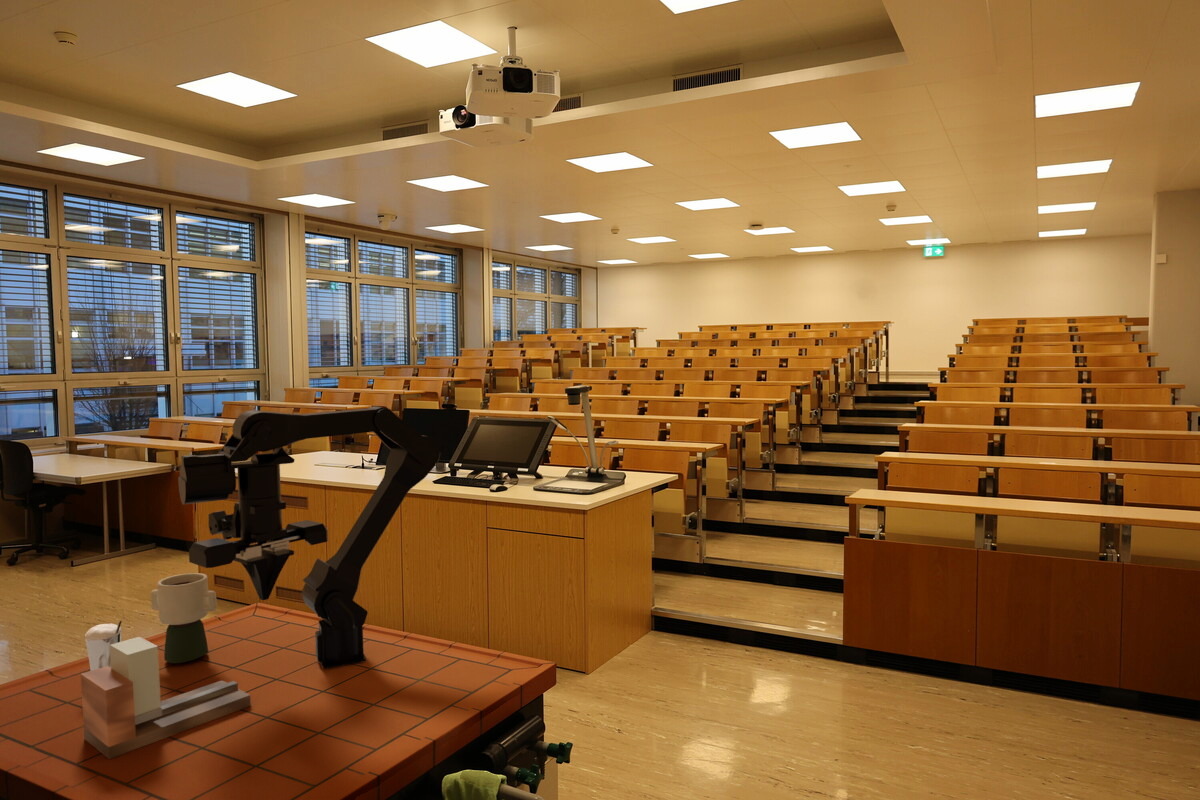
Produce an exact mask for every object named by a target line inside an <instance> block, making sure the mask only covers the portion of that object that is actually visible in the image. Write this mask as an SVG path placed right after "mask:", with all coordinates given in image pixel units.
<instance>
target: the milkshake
mask: <svg viewBox="0 0 1200 800" xmlns="http://www.w3.org/2000/svg"><path fill="white" fill-rule="evenodd" d="M122 622H123V620H119V622H118V624H116V623H102V624H97V625H94V626H92V627H91V628H89V629H88V631H87V632H86V633H84V634H85V635H84V640H85V644H86V650H87V651H86V652H87V655H88V661H89V668H90V669H89V671H92V670H96V669H99V668H102V667H106V666H108V667H110V668H111V657H110V645H111V644H115V643H118V642H122V634H123V633H122V632H123V631H122V627H121V626H122V625H121V624H122Z"/></svg>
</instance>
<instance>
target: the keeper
mask: <svg viewBox="0 0 1200 800" xmlns="http://www.w3.org/2000/svg"><path fill="white" fill-rule="evenodd" d="M158 647H159V646H158V645H156V644H154V643H152V642H151V641H149V640H147V639H145V638H143V637H141V636H136V637H133V638H130V639H125V640H121V642H118V643H115V644H111V645H110V657H111V669H113V670H114V671H116V672H118V673H119V674H121V675H123V676H124V677H126V678H127V679H129V680H131V681H132V682H133V694H134V712H135V725H137V724H139V723H142V722H145V721H148V720H151V719H153V718H156V717H159V716H162V708H161V703H160V701H161V686H160V667H159V666H160V665H159V648H158Z"/></svg>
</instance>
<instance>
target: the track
mask: <svg viewBox="0 0 1200 800" xmlns="http://www.w3.org/2000/svg"><path fill="white" fill-rule="evenodd" d="M80 683H81V685H80V686H81V702H82V717H83V718H82V719H83V720H82V721H83V735H84V736H83V737H84V741H86V742H87V743H88V744H89V745H91V746H93V747H94V749H96V750H97V751H98V752H100V753H101V754H102V755H103V756H105V757H106V758H107V759H109V760H111V759H113V758H117V757H120V756H122V755H124V754H126V753H129V752H133V751H134V750H138V749H140V748H143V747H145V746H148V745H151V744H154V743H155V742H158V741H160V740H163V739H167V738H169V737H171V736H174V735H177V734H180V733H182V732H185V731H186V730H187V731H188V730H190V729H192V728H195V727H198V726H201V725H203V724H205V723H208V722H210V721H214V720H216V719H220V718H222V717H224V716H227V715H229V714H232V713H235V712H238V711H240V710H243V709H245V708H249V707H250V706H251V694H249V693H247V692H246V691H243V690H242V689H239V685H238V684H239V683H238V682H236V681H235V680H232V681H229V682H226V681H224V680H219V681H216V682H213V683H209V684H207V685H204V686H201V687H198V688H195V689H193V690H192V689H191V690H190V691H187V692H184V693H181V694H177V695H175V696H172V697H168V698H167V699H164V700H160V703H161V708H162V716H159V717H156V718H153V719H151V720H148V721H145V722H142V723H139V724H137V725H135V712H134V694H133V682H132V681H131V680H129V679H127V678H126V677H124V676H123V675H121V674H119V673H118V672H116V671H114V670H113V669H111V668H110V667H108V666H106V667H102V668H99V669H96V670H92V671H91V670H89V671H86V672H82V673H80Z"/></svg>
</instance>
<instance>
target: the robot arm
mask: <svg viewBox="0 0 1200 800" xmlns="http://www.w3.org/2000/svg"><path fill="white" fill-rule="evenodd" d="M365 433H366V434H368V433H373V434H375V436H376V437H377V438H378V439H379V440H380V441H381V442H382V444H383V445H385V446H386V447H387V448H388V449H389V450H390V452H389V454H388V456H387V459H386V464H385V469H384V475H383V477H382V480H381V481H380V483H379V484H378V486H377V487H376V489H375V491H374V492H373V494H372V496H371V497H370V499H369V500H368V502H367V503H366V505H365V506H364V508H363V510H362V512H361V513H360V514H359V516H358V517H357V519H356V521H355V523H354V524H353V526H352V528H351V529H350V531H349V532H348V534H347V536H346V537H345V539H344V540H343V541H342V544H341V545H340V546H339V548H338V550H337V552H336V553H335V554H334V555H333V556H332V557H330V558H328V559H327V560H326V561H324V560H322V559H320V558H317V559H316V560H315V562H314V564H313V566H312V567H311V570H310V572H309V574H308V575H306V576H305V577H304V578H303V579H302V582H304V585H303V588H302V591H301V594H302V600H303V602H304V603H305V605H306V606H307V607H308V608H309V609H310V610H312V612H314V613H315V614H316V616H317V617H318V618H320V619H321V620H318V630H316V631H315V633H314V636H315V656H316V657H315V658H316V660H317V662H318V663H320V665H321V667H322V668H321V669H323V670H325V669H326V670H327V669H332V668H337V667H342V666H343V667H344V666H348V665H352V664H359V663H364V662H366V661H367V657H366V655H365V652H364V650H365V649H364V630H363V629H364V625H365V623H366V619H367V616H368V610H366V609H365V608H364V607H363V606H361V605H359V604H358V603H357V602H356V601H354V599H355V596H356V594H357V592H358V588H359V584H360V580H361V579H360V578H361V573H362V569H363V567H364V565H365V564H366V562H367V560H368V558H369V557H370V555H371V553H372V552H373V551H374V548H375V547H376V546H377V544H378V542H379V540H380V539H381V537H382V536H383V533H385V530H386V529H387V527H388V526H389V524H390V522H391V521H392V519H393V517H394V516H395V514H396V512H397V511H398V509H399V508H400V506H401V504H402V503H403V501H404V500H405V498H406V496H407V495H408V493H409V491H410V490H411V489H413V488H414V487H415V486H417V484H419V483H420V482H422V481H423V480H424V479H425V478H426V477H427V476H428V475H429V474H430V472H432V470H433V469H434V468H435V466H437V464H438V462H439V460H440V458H441V452H440V447H439V446H440V445H439V444H438V443H437V440H435V439H434V438H433V437H430V436H427V435H422V434H421V433H420V432H419V431H418V430H416V429H415V428H413V427H412V426H411V425H409V424H408V423H407V422H405V421H404V420H403V419H401V418H400V417H399V416H398V415H397V414H395V413H394V411H392V410H391V408H388V407H385V406H376V405H375V406H370V407H367V408H355V409H345V410H334V411H333V410H332V411H322V412H321V411H320V412H311V413H292V412H291V413H290V412H289V413H288V412H280V411H270V410H269V411H268V410H256V409H255V410H254V409H253V410H247V411H246V410H245V411H243V412H241V413H239V415H238V417H236V419H235V420H234V422H233V424H232V433H231V435H230V436H229V438H228V439H227V440H226V442H225V443H224V444H223V446H222V447H221V449H220V450H219V451H218V453H215V454H204V455H203V454H201V455H196V454H185V455H181V456H180V463H181V464H180V468H179V476H178V477H177V478H178V479H177V480H178V492H179V497H180V502H181V504H182V505H183V506H184V505H191V504H198V503H199V504H200V503H208V502H215V501H216V502H217V501H225V500H228V499H229V496H230V495H233V493H234V492H236V488H238V489H237V491H238V502H234V505H233V513H231V514H227V513H226V511H225V510H218V511H214V512H210V513H209V514H208V531H209V533H210V535H211V536H215V535H221V534H222V538H220V537H215V538H210V539H205V540H200V541H195V542H193V543H192V545H191V546H190V548H189V549H188V558H189V559H188V562H189V563H190V564H193V565H197V566H200V567H202V568H206V569H211V568H216V567H221V566H226V565H227V566H228V565H230V564H232V563H233V562H237V563H240V564H241V565H242V566H243V568H244V569H245V570H246V573H247V575H248V576H249V578H250V580H251V582H252V585H253V587H254V589H255V591H256V594H257V596H258V598H259V600H261V601H266V600H269V599H270V596H271V594H272V592H273V589H274V587H275V585H276V583H277V581H278V578H279V576H280V574H281V571H282V570H283V568H284V567H285V564H286V563H287V562H288V561H287V560H288V559H289V557H290V556H293V555H295V550H293V549H290V543H294V542H298V541H305V542H306V543H307V544H308V545H310V546H315V545H319V544H322V543H327V542H328V541H329V530H328V528H327V527H326V525H325V524H324V523H322V522H317V521H313V520H308V519H306V520H302V521H296V522H291V523H288V524H286V527H285V528H283V514H282V511H283V510H286V509H287V503H286V501H283V500H282V494H281V493H282V490H281V488H282V487H281V468H280V467H281V465H287V464H293V463H295V458H293V457H291V455H289V454H288V453H287V452H286V451H285V450H284V448H283V447H288V446H290V445H292V444H295V443H297V442H299V441H304V440H306V439H308V440H309V439H317V438H326V437H336V436H344V435H345V436H346V435H354V434H355V435H356V434H365ZM272 450H274V451H272ZM269 451H272V452H269ZM259 452H261V453H259ZM262 452H263V453H262ZM265 452H266V453H265ZM236 469H237V477H236ZM232 538H233V539H239V540H234V541H229V540H230V539H232Z"/></svg>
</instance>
